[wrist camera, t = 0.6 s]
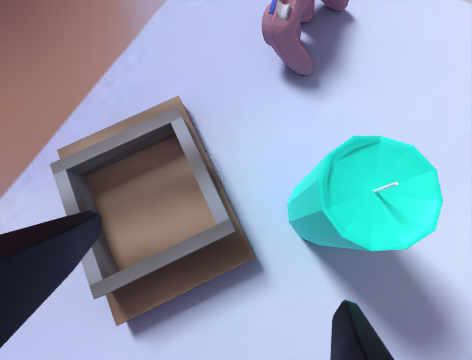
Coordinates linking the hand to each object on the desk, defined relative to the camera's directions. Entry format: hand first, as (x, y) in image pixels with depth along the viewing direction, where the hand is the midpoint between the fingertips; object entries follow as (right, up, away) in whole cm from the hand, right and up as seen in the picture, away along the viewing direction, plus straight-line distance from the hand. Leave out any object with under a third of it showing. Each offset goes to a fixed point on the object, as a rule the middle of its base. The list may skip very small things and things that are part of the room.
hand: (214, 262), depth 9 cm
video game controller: (+7, +18, +18) cm, 27 cm away
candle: (+8, 0, +14) cm, 16 cm away
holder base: (-6, +1, +15) cm, 16 cm away
